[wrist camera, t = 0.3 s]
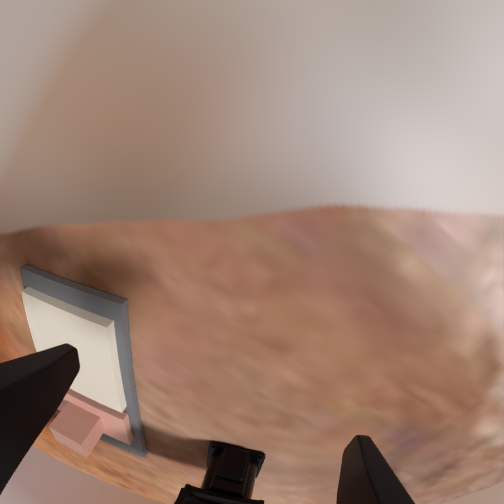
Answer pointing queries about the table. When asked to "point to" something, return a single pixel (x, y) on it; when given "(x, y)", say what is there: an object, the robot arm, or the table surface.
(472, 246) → the table surface
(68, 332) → the spiral notepad
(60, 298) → the mat
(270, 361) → the table surface
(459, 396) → the table surface
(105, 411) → the stub
